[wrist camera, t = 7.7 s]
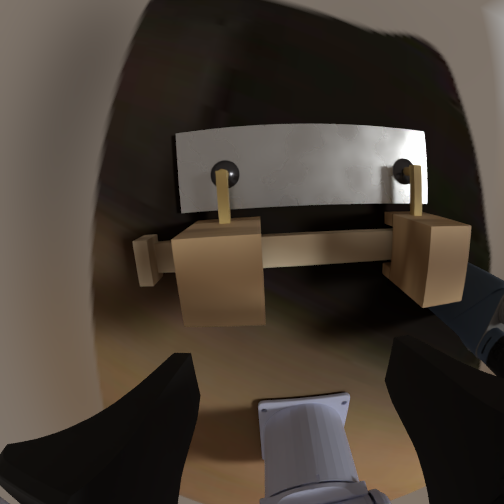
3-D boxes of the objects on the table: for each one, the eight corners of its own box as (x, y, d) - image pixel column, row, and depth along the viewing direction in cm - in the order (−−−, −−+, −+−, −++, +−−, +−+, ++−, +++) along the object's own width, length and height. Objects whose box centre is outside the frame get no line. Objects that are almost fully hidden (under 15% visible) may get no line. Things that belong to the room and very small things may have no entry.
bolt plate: (424, 202, 18) (427, 203, 17) (183, 212, 18) (181, 213, 18) (421, 132, 16) (424, 131, 16) (177, 134, 17) (175, 133, 17)
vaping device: (422, 312, 20) (510, 401, 8) (448, 252, 19) (559, 313, 7) (441, 318, 20) (526, 399, 8) (466, 262, 19) (569, 320, 7)
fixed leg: (416, 270, 19) (461, 300, 13) (382, 273, 19) (422, 307, 13) (419, 166, 17) (471, 166, 11) (383, 164, 17) (431, 161, 11)
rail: (441, 258, 19) (455, 265, 17) (150, 276, 19) (140, 286, 18) (443, 220, 18) (458, 224, 16) (144, 235, 19) (132, 241, 17)
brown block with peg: (263, 282, 19) (265, 324, 13) (205, 284, 19) (184, 327, 14) (256, 167, 17) (256, 161, 12) (193, 172, 17) (164, 170, 12)
